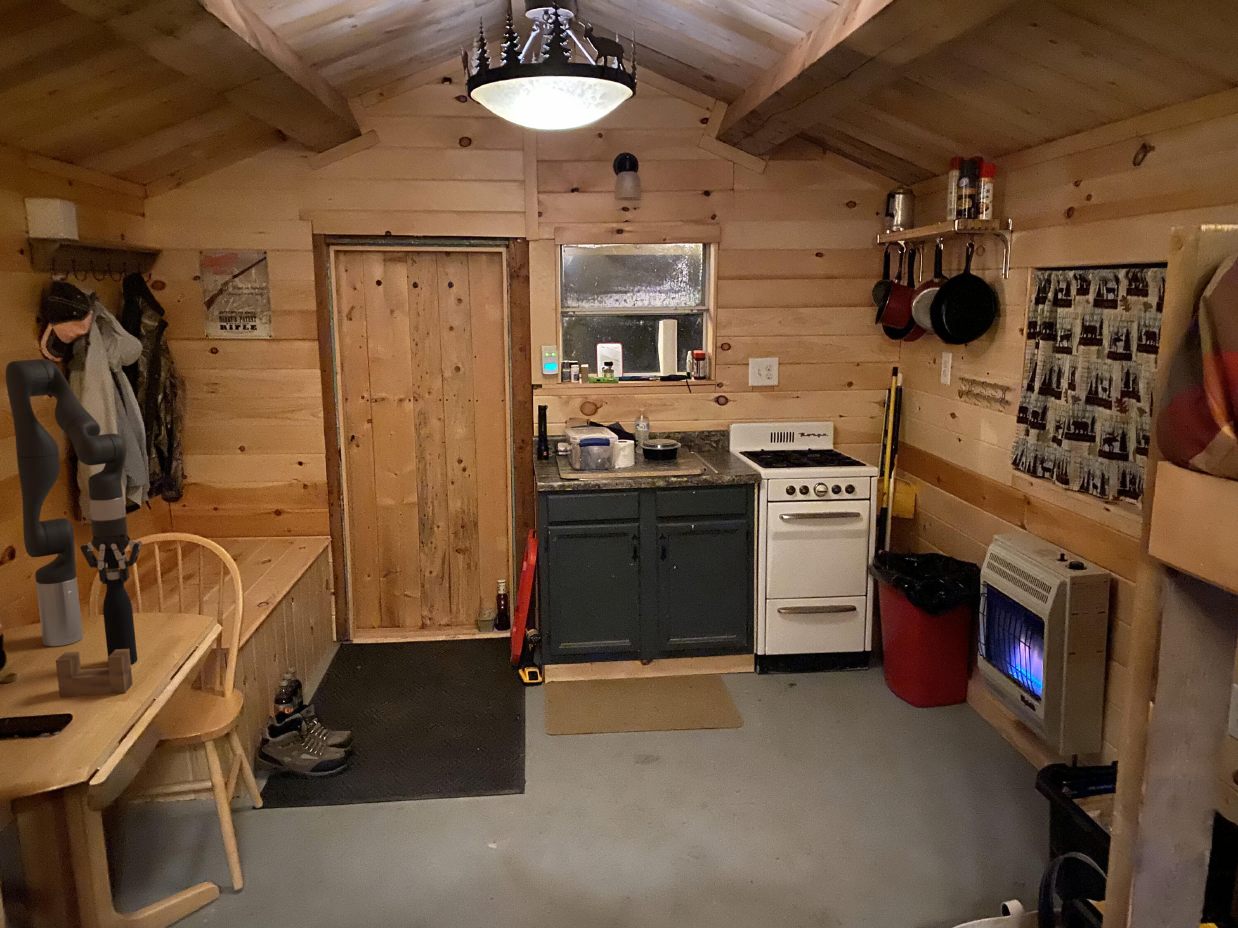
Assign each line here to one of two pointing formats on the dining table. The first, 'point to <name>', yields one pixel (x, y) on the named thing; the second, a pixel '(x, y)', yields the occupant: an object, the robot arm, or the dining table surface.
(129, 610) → the black bottle
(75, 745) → the dining table surface
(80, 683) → the walnut U-rest
